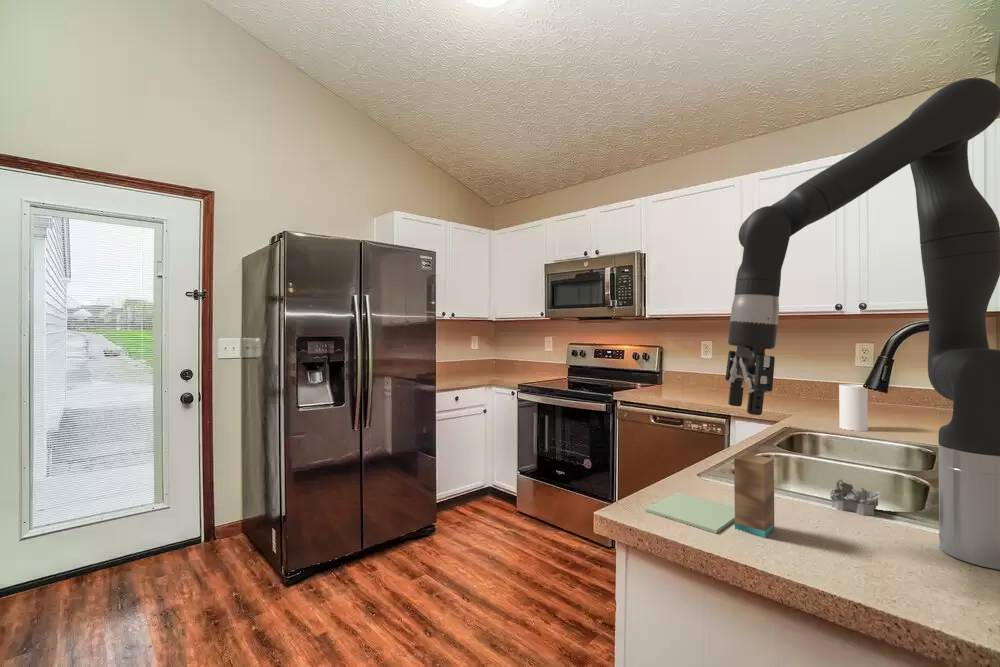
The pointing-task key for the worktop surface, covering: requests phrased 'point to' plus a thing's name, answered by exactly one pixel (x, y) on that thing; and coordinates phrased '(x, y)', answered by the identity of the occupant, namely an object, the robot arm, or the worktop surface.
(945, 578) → the worktop surface
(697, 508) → the sage mat
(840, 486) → the grey miniature model
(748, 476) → the walnut block
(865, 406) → the cup
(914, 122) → the robot arm
